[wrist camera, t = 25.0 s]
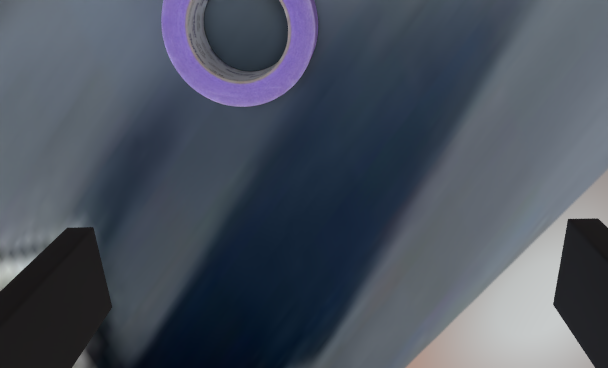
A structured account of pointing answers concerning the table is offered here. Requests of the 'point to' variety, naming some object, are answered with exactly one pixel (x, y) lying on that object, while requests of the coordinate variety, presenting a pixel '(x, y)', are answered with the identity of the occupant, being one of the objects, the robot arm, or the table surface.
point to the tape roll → (223, 78)
